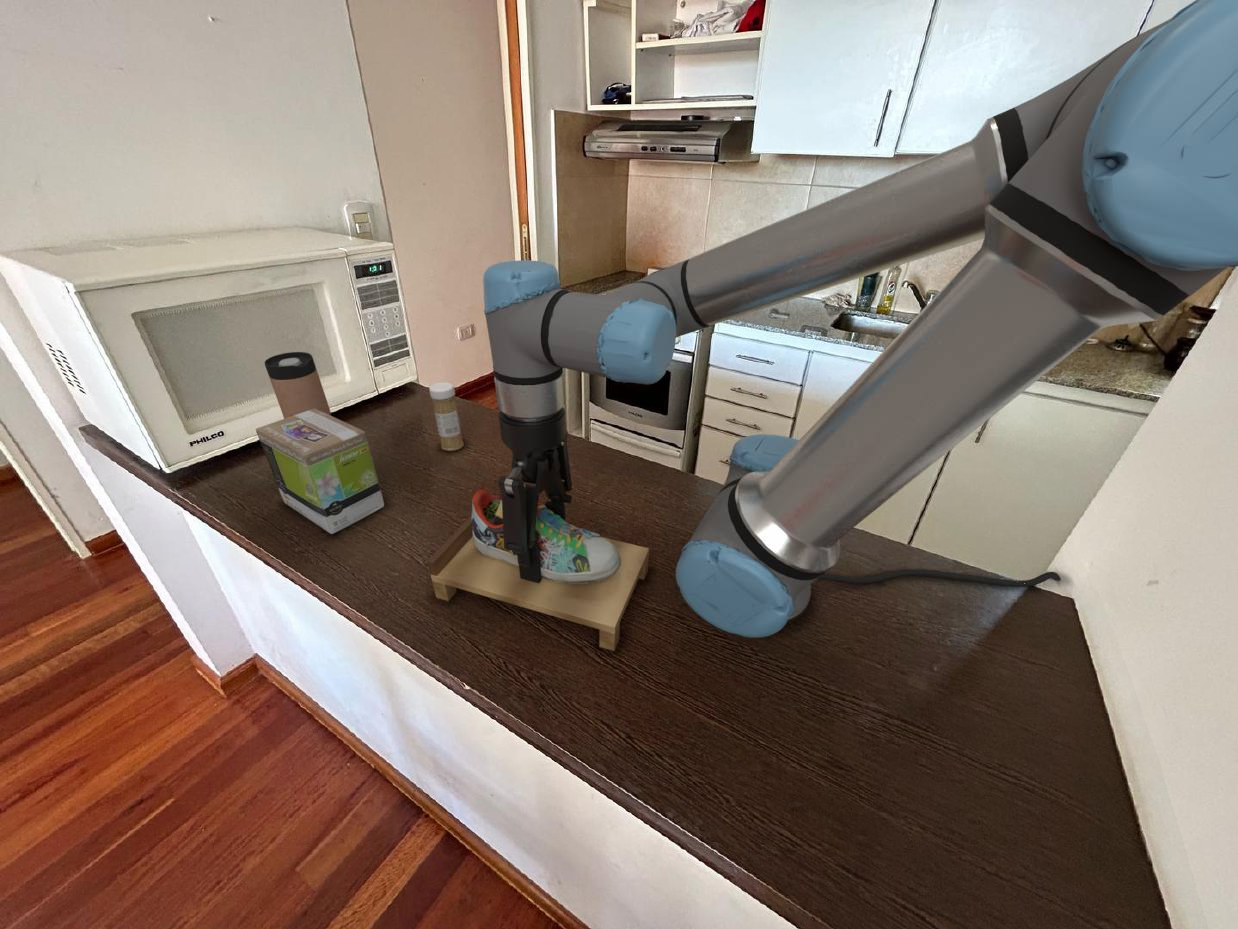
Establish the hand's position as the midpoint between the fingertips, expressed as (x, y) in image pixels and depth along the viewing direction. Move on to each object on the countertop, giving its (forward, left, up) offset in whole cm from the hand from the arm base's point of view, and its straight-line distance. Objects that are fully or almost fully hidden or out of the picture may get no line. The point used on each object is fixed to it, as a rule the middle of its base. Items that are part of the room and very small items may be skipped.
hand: (544, 558), depth 70 cm
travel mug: (+57, -17, -5) cm, 60 cm away
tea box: (+42, -5, -5) cm, 43 cm away
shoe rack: (0, 0, -5) cm, 5 cm away
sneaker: (0, 0, 0) cm, 1 cm away
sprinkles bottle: (+35, -29, -5) cm, 46 cm away
